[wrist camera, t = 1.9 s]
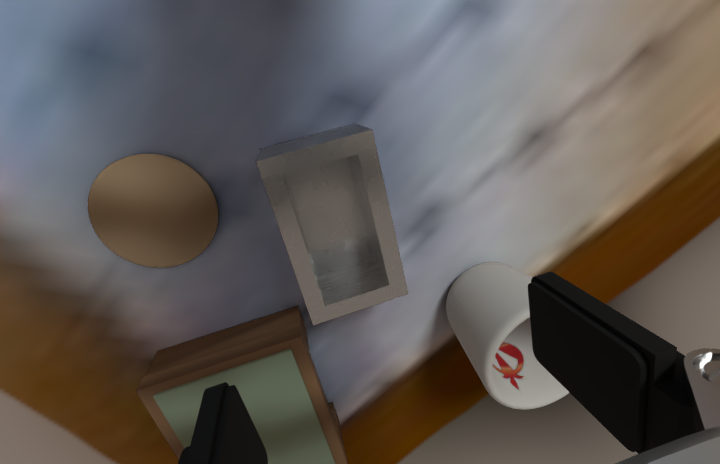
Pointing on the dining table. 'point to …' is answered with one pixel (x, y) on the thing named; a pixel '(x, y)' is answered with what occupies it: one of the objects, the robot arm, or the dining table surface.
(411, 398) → the dining table surface
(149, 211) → the coaster
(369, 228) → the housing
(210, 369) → the stand
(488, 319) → the cup
